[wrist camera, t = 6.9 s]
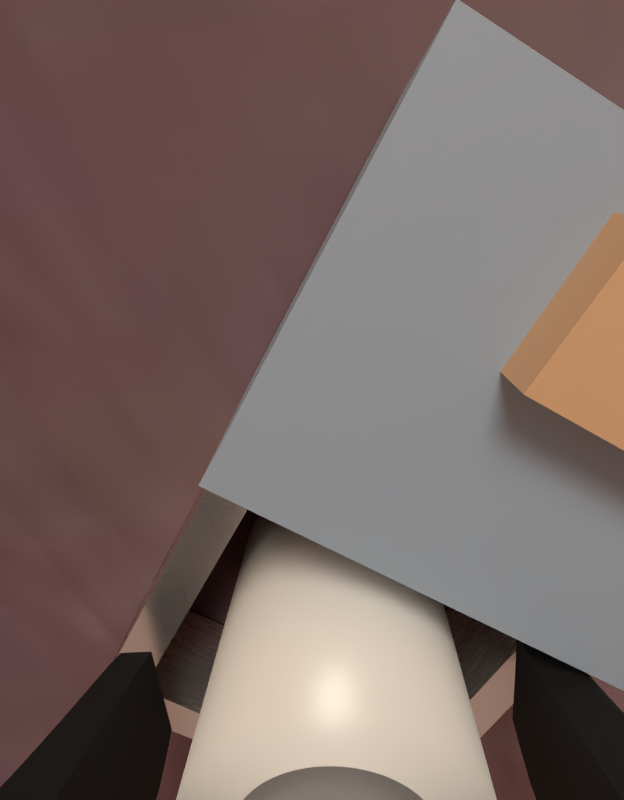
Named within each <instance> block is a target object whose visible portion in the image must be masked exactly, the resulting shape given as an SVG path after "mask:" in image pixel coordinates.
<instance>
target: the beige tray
mask: <svg viewBox="0 0 624 800" xmlns="http://www.w3.org/2000/svg"><path fill="white" fill-rule="evenodd" d="M247 510H248V509H245V508H243V507H241V506H239V505H237V504H235V503H233V502H231V501H229V500H227V499H225V498H223V497H221V496H218V495H216V494H214V493H212V492H210V491H208V490H206V489H204V488H203V490H202V492H201V494H200V496H199V498H198V500H197V501H196V503H195V505H194V507H193V509H192V511H191V513H190V515H189V516H188V518H187V520H186V522H185V524H184V526H183V528H182V530H181V531H180V533H179V535H178V537H177V539H176V541H175V543H174V544H173V546H172V548H171V550H170V552H169V554H168V556H167V558H166V559H165V561H164V563H163V565H162V567H161V569H160V571H159V572H158V574H157V576H156V578H155V580H154V582H153V584H152V586H151V587H150V589H149V591H148V593H147V595H146V597H145V599H144V600H143V602H142V604H141V606H140V608H139V610H138V612H137V614H136V616H135V618H134V620H133V622H132V624H131V626H130V628H129V630H128V632H127V634H126V636H125V638H124V640H123V642H122V644H121V646H120V648H119V650H118V652H117V654H116V656H115V658H116V657H117V656H118V655H119V654H120V653H129V652H152V656H153V659H154V663H155V667H156V671H157V675H158V678H159V682H160V686H161V690H162V694H163V698H164V701H165V705H166V709H167V713H168V717H169V720H170V724H171V728H172V730H171V731H174V732H176V733H179V734H181V735H183V736H186V737H188V738H191V739H193V736H194V733H195V729H196V726H197V722H198V718H199V715H200V711H201V708H202V704H203V700H204V697H205V693H206V689H207V686H208V682H209V679H210V675H211V671H212V668H213V664H214V661H215V657H216V653H217V650H218V646H219V642H220V639H221V635H222V632H223V628H224V625H222V624H219V623H217V622H215V621H213V620H210V619H208V618H206V617H204V616H201V615H199V614H197V613H195V612H192V611H190V610H189V609H190V607H191V606H192V604H193V602H194V601H195V599H196V597H197V595H198V594H199V592H200V590H201V589H202V587H203V585H204V583H205V582H206V580H207V578H208V577H209V575H210V573H211V571H212V570H213V568H214V566H215V565H216V563H217V561H218V559H219V558H220V556H221V554H222V553H223V551H224V549H225V547H226V546H227V544H228V542H229V540H230V539H231V537H232V535H233V534H234V532H235V530H236V528H237V527H238V525H239V523H240V522H241V520H242V518H243V516H244V515H245V513H246V511H247ZM445 612H446V615H447V619H448V623H449V626H450V630H451V634H452V637H453V641H454V645H455V648H456V652H457V656H458V659H459V663H460V667H461V670H462V674H463V678H464V681H465V685H466V689H467V692H468V696H469V700H470V703H471V707H472V711H473V714H474V718H475V722H476V725H477V729H478V733H479V736H480V738H481V737H482V736H483V735H484V734H485V733H486V731H487V730H488V729H489V728H490V727H491V726H492V725H493V724H494V723H495V722H496V721H497V720H498V719H499V718H500V717H501V716H502V715H503V714H504V713H505V712H506V711H507V710H508V709H509V708H510V707H511V706H512V705H513V702H514V684H515V666H516V647H517V639H515V638H513V637H511V636H509V635H507V634H505V633H502V632H500V631H498V630H496V629H494V628H492V627H490V626H488V625H486V624H484V623H482V622H480V621H478V620H476V619H473V618H471V617H469V616H467V615H465V614H463V613H461V612H459V611H457V610H455V609H453V608H451V607H449V608H448V609H447V610H446V611H445ZM115 658H114V660H115ZM114 660H113V661H114Z"/></svg>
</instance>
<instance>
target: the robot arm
mask: <svg viewBox="0 0 624 800" xmlns="http://www.w3.org/2000/svg"><path fill="white" fill-rule="evenodd" d="M513 722H514V726H515V730H516V733H517V737H518V741H519V744H520V748H521V752H522V755H523V759H524V762H525V765H526V769H527V772H528V776H529V779H530V783H531V786H532V788H533V791H534V794H535V796H536V799H537V800H624V713H623V712H622V711H621V710H620V709H619V708H618V706H617V705H616V704H615V703H614V702H613V701H612V700H611V699H610V698H609V697H608V696H607V695H606V693H605V692H604V691H603V690H602V689H601V688H600V687H599V686H598V685H597V684H596V683H595V681H594V680H593V679H592V678H591V677H590V676H589V675H588V674H587V673H585V672H583V671H581V670H579V669H577V668H575V667H573V666H571V665H569V664H567V663H565V662H563V661H560V660H558V659H556V658H554V657H552V656H550V655H548V654H546V653H544V652H542V651H540V650H538V649H536V648H534V647H531V646H529V645H527V644H525V643H523V642H521V641H519V640H517V647H516V666H515V684H514V702H513ZM171 730H172V728H171V724H170V720H169V717H168V713H167V709H166V705H165V701H164V698H163V694H162V690H161V686H160V682H159V678H158V675H157V671H156V667H155V663H154V659H153V656H152V652H129V653H120V654H119V655H118V656H117V657H116V658H115V660H114V661H113V662H112V663H111V664H110V665H109V666H108V667H107V668H106V670H105V671H104V672H103V673H102V674H101V675H100V676H99V678H98V679H97V680H96V681H95V682H94V683H93V685H92V686H91V687H90V688H89V689H88V690H87V691H86V693H85V694H84V695H83V696H82V697H81V698H80V700H79V701H78V702H77V703H76V704H75V705H74V706H73V708H72V709H71V710H70V711H69V712H68V713H67V714H66V716H65V717H64V718H63V719H62V720H61V721H60V723H59V724H58V725H57V726H56V727H55V728H54V729H53V730H52V731H51V733H50V734H49V735H48V736H47V737H46V738H45V739H44V740H43V742H42V743H41V744H40V745H39V746H38V747H37V748H36V749H35V750H34V752H33V753H32V754H31V755H30V756H29V757H28V758H27V759H26V760H25V762H24V763H23V764H22V765H21V766H20V767H19V768H18V769H17V770H16V771H15V772H14V774H13V775H12V776H11V777H10V778H9V779H8V780H7V781H6V782H5V783H4V784H3V785H2V786H1V787H0V800H156V798H157V794H158V791H159V786H160V782H161V778H162V773H163V769H164V764H165V760H166V755H167V750H168V745H169V740H170V735H171Z"/></svg>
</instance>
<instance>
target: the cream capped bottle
mask: <svg viewBox="0 0 624 800" xmlns="http://www.w3.org/2000/svg"><path fill="white" fill-rule="evenodd" d="M176 800H497V799H496V795H495V791H494V788H493V784H492V780H491V777H490V773H489V769H488V766H487V762H486V758H485V755H484V751H483V747H482V744H481V740H480V736H479V733H478V729H477V725H476V722H475V718H474V714H473V711H472V707H471V703H470V700H469V696H468V692H467V689H466V685H465V681H464V678H463V674H462V670H461V667H460V663H459V659H458V656H457V652H456V648H455V645H454V641H453V637H452V634H451V630H450V626H449V623H448V619H447V615H446V612H445V608H444V604H442V603H440V602H438V601H436V600H434V599H432V598H430V597H428V596H426V595H424V594H422V593H420V592H417V591H415V590H413V589H411V588H409V587H407V586H405V585H403V584H401V583H399V582H397V581H395V580H393V579H391V578H388V577H386V576H384V575H382V574H380V573H378V572H376V571H374V570H372V569H370V568H368V567H366V566H364V565H362V564H359V563H357V562H355V561H353V560H351V559H349V558H347V557H345V556H343V555H341V554H339V553H337V552H335V551H332V550H330V549H328V548H326V547H324V546H322V545H320V544H318V543H316V542H314V541H312V540H310V539H308V538H306V537H303V536H301V535H299V534H297V533H295V532H293V531H291V530H289V529H287V528H285V527H283V526H281V525H279V524H277V523H274V522H272V521H270V520H268V519H266V518H264V517H262V516H260V515H258V517H257V518H256V520H255V522H254V524H253V526H252V529H251V531H250V534H249V538H248V541H247V545H246V548H245V552H244V556H243V559H242V563H241V566H240V570H239V574H238V577H237V581H236V585H235V588H234V592H233V595H232V599H231V603H230V606H229V610H228V613H227V617H226V621H225V624H224V628H223V632H222V635H221V639H220V642H219V646H218V650H217V653H216V657H215V661H214V664H213V668H212V671H211V675H210V679H209V682H208V686H207V689H206V693H205V697H204V700H203V704H202V708H201V711H200V715H199V718H198V722H197V726H196V729H195V733H194V736H193V740H192V744H191V747H190V751H189V755H188V758H187V762H186V765H185V769H184V773H183V776H182V780H181V784H180V787H179V791H178V794H177V798H176Z"/></svg>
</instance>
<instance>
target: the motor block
mask: <svg viewBox="0 0 624 800" xmlns="http://www.w3.org/2000/svg"><path fill="white" fill-rule="evenodd" d="M199 486H200V487H202V488H204V489H206V490H208V491H210V492H212V493H214V494H216V495H218V496H221V497H223V498H225V499H227V500H229V501H231V502H233V503H235V504H237V505H239V506H241V507H243V508H245V509H248V510H250V511H252V512H254V513H256V514H258V515H260V516H262V517H264V518H266V519H268V520H270V521H272V522H274V523H277V524H279V525H281V526H283V527H285V528H287V529H289V530H291V531H293V532H295V533H297V534H299V535H301V536H303V537H306V538H308V539H310V540H312V541H314V542H316V543H318V544H320V545H322V546H324V547H326V548H328V549H330V550H332V551H335V552H337V553H339V554H341V555H343V556H345V557H347V558H349V559H351V560H353V561H355V562H357V563H359V564H362V565H364V566H366V567H368V568H370V569H372V570H374V571H376V572H378V573H380V574H382V575H384V576H386V577H388V578H391V579H393V580H395V581H397V582H399V583H401V584H403V585H405V586H407V587H409V588H411V589H413V590H415V591H417V592H420V593H422V594H424V595H426V596H428V597H430V598H432V599H434V600H436V601H438V602H440V603H442V604H444V605H446V606H449V607H451V608H453V609H455V610H457V611H459V612H461V613H463V614H465V615H467V616H469V617H471V618H473V619H476V620H478V621H480V622H482V623H484V624H486V625H488V626H490V627H492V628H494V629H496V630H498V631H500V632H502V633H505V634H507V635H509V636H511V637H513V638H515V639H517V640H519V641H521V642H523V643H525V644H527V645H529V646H531V647H534V648H536V649H538V650H540V651H542V652H544V653H546V654H548V655H550V656H552V657H554V658H556V659H558V660H560V661H563V662H565V663H567V664H569V665H571V666H573V667H575V668H577V669H579V670H581V671H583V672H585V673H587V674H590V675H592V676H594V677H596V678H598V679H600V680H602V681H604V682H606V683H608V684H610V685H612V686H614V687H616V688H619V689H621V690H623V691H624V110H623V109H621V108H620V107H618V106H617V105H615V104H614V103H612V102H611V101H609V100H608V99H606V98H605V97H603V96H602V95H600V94H599V93H597V92H596V91H594V90H593V89H591V88H590V87H588V86H587V85H585V84H584V83H582V82H581V81H579V80H578V79H576V78H575V77H573V76H572V75H570V74H569V73H567V72H566V71H564V70H563V69H561V68H560V67H558V66H557V65H555V64H554V63H552V62H551V61H549V60H548V59H546V58H545V57H543V56H542V55H540V54H539V53H537V52H536V51H535V50H533V49H532V48H530V47H529V46H527V45H526V44H524V43H523V42H521V41H520V40H518V39H517V38H515V37H514V36H512V35H511V34H509V33H508V32H506V31H505V30H503V29H502V28H500V27H499V26H497V25H496V24H494V23H493V22H491V21H490V20H488V19H487V18H485V17H484V16H482V15H481V14H479V13H478V12H476V11H475V10H473V9H472V8H470V7H469V6H467V5H466V4H464V3H463V2H461V1H460V0H456V1H455V3H454V4H453V6H452V8H451V9H450V11H449V13H448V15H447V16H446V18H445V20H444V22H443V23H442V25H441V27H440V29H439V30H438V32H437V34H436V36H435V37H434V39H433V41H432V42H431V44H430V46H429V48H428V49H427V51H426V53H425V55H424V56H423V58H422V60H421V62H420V63H419V65H418V67H417V69H416V70H415V72H414V74H413V75H412V77H411V79H410V81H409V82H408V84H407V86H406V88H405V89H404V91H403V93H402V95H401V96H400V98H399V100H398V102H397V104H396V106H395V108H394V109H393V111H392V113H391V115H390V117H389V119H388V121H387V123H386V125H385V127H384V128H383V130H382V132H381V134H380V136H379V138H378V140H377V142H376V144H375V146H374V147H373V149H372V151H371V153H370V155H369V157H368V159H367V161H366V163H365V164H364V166H363V168H362V170H361V172H360V174H359V176H358V178H357V180H356V182H355V183H354V185H353V187H352V189H351V191H350V193H349V195H348V197H347V199H346V201H345V202H344V204H343V206H342V208H341V210H340V212H339V214H338V216H337V218H336V220H335V221H334V223H333V225H332V227H331V229H330V231H329V233H328V235H327V237H326V238H325V240H324V242H323V244H322V246H321V248H320V250H319V252H318V254H317V256H316V257H315V259H314V261H313V263H312V265H311V267H310V269H309V271H308V273H307V275H306V276H305V278H304V280H303V282H302V284H301V286H300V288H299V290H298V292H297V293H296V295H295V297H294V299H293V301H292V303H291V305H290V307H289V309H288V311H287V312H286V314H285V316H284V318H283V320H282V322H281V324H280V326H279V328H278V330H277V331H276V333H275V335H274V337H273V339H272V341H271V343H270V345H269V347H268V348H267V350H266V352H265V354H264V356H263V358H262V360H261V362H260V364H259V366H258V367H257V369H256V371H255V373H254V375H253V377H252V379H251V381H250V383H249V385H248V387H247V389H246V391H245V393H244V395H243V397H242V399H241V401H240V403H239V405H238V407H237V409H236V411H235V413H234V415H233V417H232V419H231V421H230V423H229V425H228V427H227V429H226V431H225V433H224V435H223V437H222V439H221V441H220V443H219V445H218V447H217V449H216V452H215V454H214V456H213V458H212V460H211V462H210V464H209V466H208V468H207V470H206V472H205V474H204V476H203V478H202V480H201V482H200V484H199Z"/></svg>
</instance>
